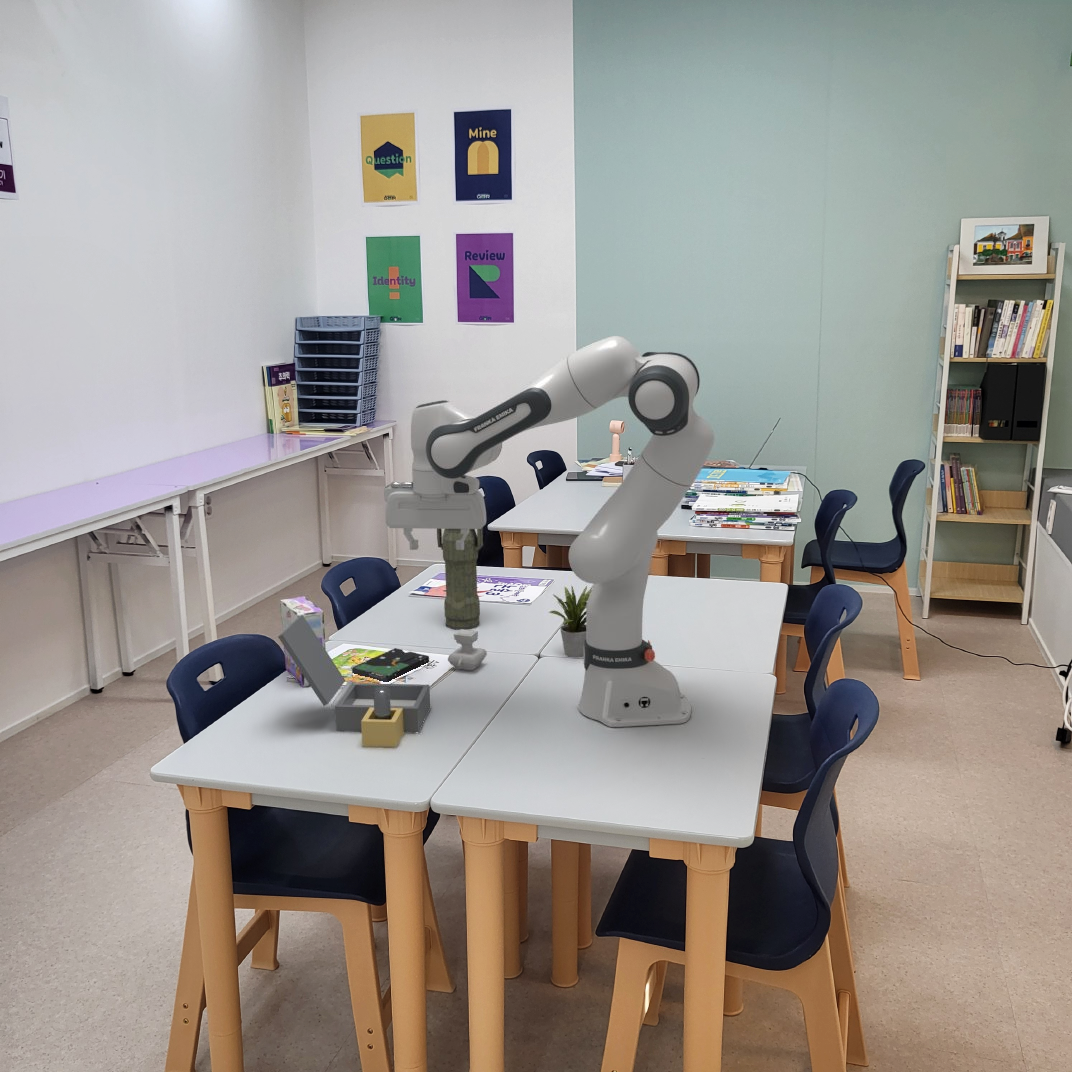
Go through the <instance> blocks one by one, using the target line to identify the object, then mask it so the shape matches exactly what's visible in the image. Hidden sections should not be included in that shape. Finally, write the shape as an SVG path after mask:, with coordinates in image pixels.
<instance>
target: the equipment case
mask: <svg viewBox="0 0 1072 1072" xmlns="http://www.w3.org/2000/svg"><path fill="white" fill-rule="evenodd" d="M377 687H388V688H389V689H390V707H391V708H403V722H404V732H419V733H420V731H421V729H422V727H421V726H423V725H422V724H424V722H425V720H426V718H427V716H428V714H429V712H430V710H431V708H430V707H431V687H430V684H419V683H418V684H412V683H411V684H407V683H391V684H379V683H375V682H371V683H366V682H365V683H364V682H354V681H353V680H351V679H349V680H347V682H346V683H345V685H344V686H343V688H342V689H341V690H340V691H339V693H338V694H337V696H336V697H335V698H334V699H333V701H332V703H330V709H332V710H334V712H335V727H336V728H335V729H336V731H337V732H362V729H361V721H362V719H363V717H364V716H365V714H366V713H367V711H368V710H369V708H370V707H373V708H374V694H373V690H374V689H375V688H377ZM429 709H430V710H429ZM428 711H429V712H428ZM427 713H428V714H427ZM426 715H427V716H426ZM425 717H426V718H425ZM424 719H425V720H424ZM423 721H424V722H423ZM420 728H421V729H420ZM419 730H420V731H419Z"/></svg>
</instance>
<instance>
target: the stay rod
mask: <svg viewBox="0 0 1072 1072" xmlns="http://www.w3.org/2000/svg"><path fill="white" fill-rule="evenodd" d="M373 694H374V713H375V719H379V720H391V707H390V689H389V688H388V687H377V688H375V689H374V690H373Z"/></svg>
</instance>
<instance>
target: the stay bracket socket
mask: <svg viewBox="0 0 1072 1072" xmlns="http://www.w3.org/2000/svg"><path fill="white" fill-rule="evenodd" d="M361 729H362V731H361V741H362V742H361V743H362V744H361V745H362V747H369V748H371V747H375V748H376V747H379V748H397V747H398V746H399V743H400V741H401V739H402V737H403V736H402V735H404V734H405V733H404V722H403V708H391V720H379V719H375V713H374V708H373V707H370V708H369V710H368V711H367V713H366V714H365V716H364V717H363V719H362V721H361ZM403 733H404V734H403Z"/></svg>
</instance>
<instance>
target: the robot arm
mask: <svg viewBox="0 0 1072 1072" xmlns="http://www.w3.org/2000/svg"><path fill="white" fill-rule="evenodd" d="M700 381H701V380H700V373H699V370H698V368H697V366H696V364H695V362H694V361H692V359H690V358H689V357H688V356H687V355H684V354H682V353H679V352H678V353H677V352H673V351H672V352H671V351H669V352H667V351H664V352H663V351H659V352H658V351H657V352H656V351H647V352H644V353H643V354H641V355H640V353H639V352H638V350H637V349H636V347H635V346H634V345H633V344H632V342H631V341H629V340H628V339H626V338H625V337H623V336H620V335H612V336H608V337H606V338H603V339H600V340H597V341H595V342H593V343H590V344H588V345H586V346H584V347H581V348H579V349H577V350H576V351H573V352H572V353H570V354H568V355H567V356H565V357H563V358H562V359H560V360H558V361H557V362H556V363H554V364H553V365H552V366H550V367H548V369H546V370H545V371H544V372H542V373H541V374H540V375H538V377H536V378H535V379H533V381H531V382H530V383H529V384H527V385H526V386H525V387H523V388H522V389H521V390H519V392H517V393H516V394H514V395H513V396H512V397H510V398H509V399H507V400H505V401H504V402H501V403H500V404H497V406H494V407H492V408H490V409H489V410H487V411H485V412H483V413H482V414H479V415H477V416H475V415H472V414H469V413H467V412H465V411H463V410H461V409H459V408H458V407H456V406H455V405H454V404H453V403H452V402H451V401H449V400H446V399H445V400H437V401H431V402H427V403H421V404H418V405H417V406H415V408H414V409H413V410H412V415H411V420H410V421H411V423H410V447H411V450H412V454H413V458H412V460H413V461H412V465H411V472H412V473H411V476H412V478H411V479H412V481H405V482H404V481H403V482H399V481H398V482H397V481H395V482H394V481H391V483H390V484H389V483H388V485H386V486H385V488H384V490H383V494H384V495H383V496H384V497H383V498H384V501H385V503H386V507H385V524H386V526H387V527H388V528H389V529H403V535H404V537H405V539H406V540H407V541H408V542H409V550H411V551H417V550H418V549H419V546H420V545H419V539H415V537H413V535H412V532H413V529H422V530H423V529H428V530H430V529H431V530H432V529H434V530H435V529H436V530H437V529H441V530H442V529H443V530H444V529H461V534H464V535H463V537H462V538H461V540H457V541H456V550H464V540H465V539H466V537H467V535H468V533H469V529H475V530H477V529H481V528H482V527H484V526H485V525H486V524H487V510H486V504H485V498H484V496H483V493H481V491H480V490H479V489H480V480H479V479H478V478H477V477H474V476H471V475H467V474H468V473H470V472H473V471H476V470H478V469H480V468H483V467H485V466H488V465H490V464H491V463H493V462H494V461H496V460H497V458H498V457H499V456H500V454H501V452H502V448H503V443H504V442H506V441H507V440H509V439H511V438H513V437H515V436H516V435H519V434H521V433H523V432H527V431H529V430H532V429H535V428H539V427H543V426H548V425H553V424H557V423H562V422H566V421H570V420H574V419H575V418H579V417H581V416H584V415H586V414H588V413H591V412H593V411H594V410H596V409H598V408H600V407H602V406H604V405H605V404H607V403H609V402H610V401H612V400H616V399H619V398H627V399H628V406H629V408H630V409H631V412H632V414H634V416H635V417H636V418H637V419H638V420H639V421H640V423H642V424H643V425H644V426H645V427H646V428H647V429H648V431H650V433H651V434H652V435H651V437H650V439H649V441H648V442H647V444H646V445H645V447H644V448H643V450H642V451H641V453H640V455H639V456H638V458H637V459H636V461H635V462H634V463H633V465H632V467H631V468H630V470H629V472H628V473H627V474H626V476H625V477H624V479H623V480H622V482H621V484H620V485H619V486H618V487H617V489H616V490H615V491H614V492H613V494H611V496H610V497H609V498H608V499H607V500H606V501H605V503H604V504H603V505H602V506H601V508H600V509H599V510H598V511H597V513H596V514H595V515H594V516H593V518H592V519H591V520H590V521H589V522H588V524H587V525H586V526H585V528H584V529H583V530H582V532H580V534H578V536H577V537H576V538H575V539H574V541H573V542H572V543H571V545H570V546H569V550H568V562H569V567H570V569H571V570H572V572H573V573H574V575H575V576H576V577H577V578H578V579H579V580H581V581H582V582H585V583H587V584H592V588H591V589H592V591H591V593H590V596H589V598H588V600H587V605H586V608H585V609H586V610H585V611H586V615H585V617H586V623H585V625H586V640H585V642H584V651H583V654H584V655H583V667H584V680H583V684H582V691H581V696H580V699H579V701H578V705H577V708H578V711H579V712H580V713H581V714H582V715H584V716H585V717H588V718H589V719H592V720H596V721H599V722H601V723H602V724H604V725H605V726H607V727H609V728H620V727H621V728H622V727H623V728H624V727H638V726H640V727H641V726H657V725H659V726H660V725H676V724H677V725H679V724H684V723H686V722H687V721H689V719H690V718H691V716H692V705H691V702H690V700H689V698H688V697H687V696H686V695H685V694H684V693H682V692H681V690H680V686H679V683H678V680H677V678H676V676H675V675H674V674H673V673H672V672H671V671H670V670H668V669H667V668H665V667H664V666H662V665H661V664H660V663H659V662H657V661H656V660H655V659H656V654H655V651H654V650H653V645H652V644H651V642H650V640H648V639H647V641H646V640H644V639H643V617H644V616H643V615H644V610H643V609H644V599H645V594H646V589H647V588H646V587H647V585H648V581H649V580H648V579H649V574H650V569H651V564H652V557H653V555H654V552H655V549H656V547H657V544H658V539H659V538H658V537H659V535H658V530H659V529H660V528H661V527H662V526H663V525H664V524H665V523H666V522H667V521H668V520H669V518H670V517H671V516H672V515H673V513H674V511H675V510H676V508H677V507H678V506H679V504H680V503H681V501H682V500H683V498H684V497H685V496H686V494H687V493H688V491H689V489H691V487H692V485H693V483H694V482H695V481H696V480H697V477H698V476H699V475H700V473H701V471H702V470H703V467H704V465H705V464H706V462H707V460H708V458H709V455H710V454H711V452H712V448H713V446H714V442H715V434H714V431H713V429H712V427H711V426H710V423H708V422H707V420H705V419H704V418H703V417H702V416H699V415H698V414H697V413H696V411H695V409H694V405H693V404H694V400H695V398H696V396H697V395H698V391H699V388H700V383H701V382H700Z"/></svg>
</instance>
